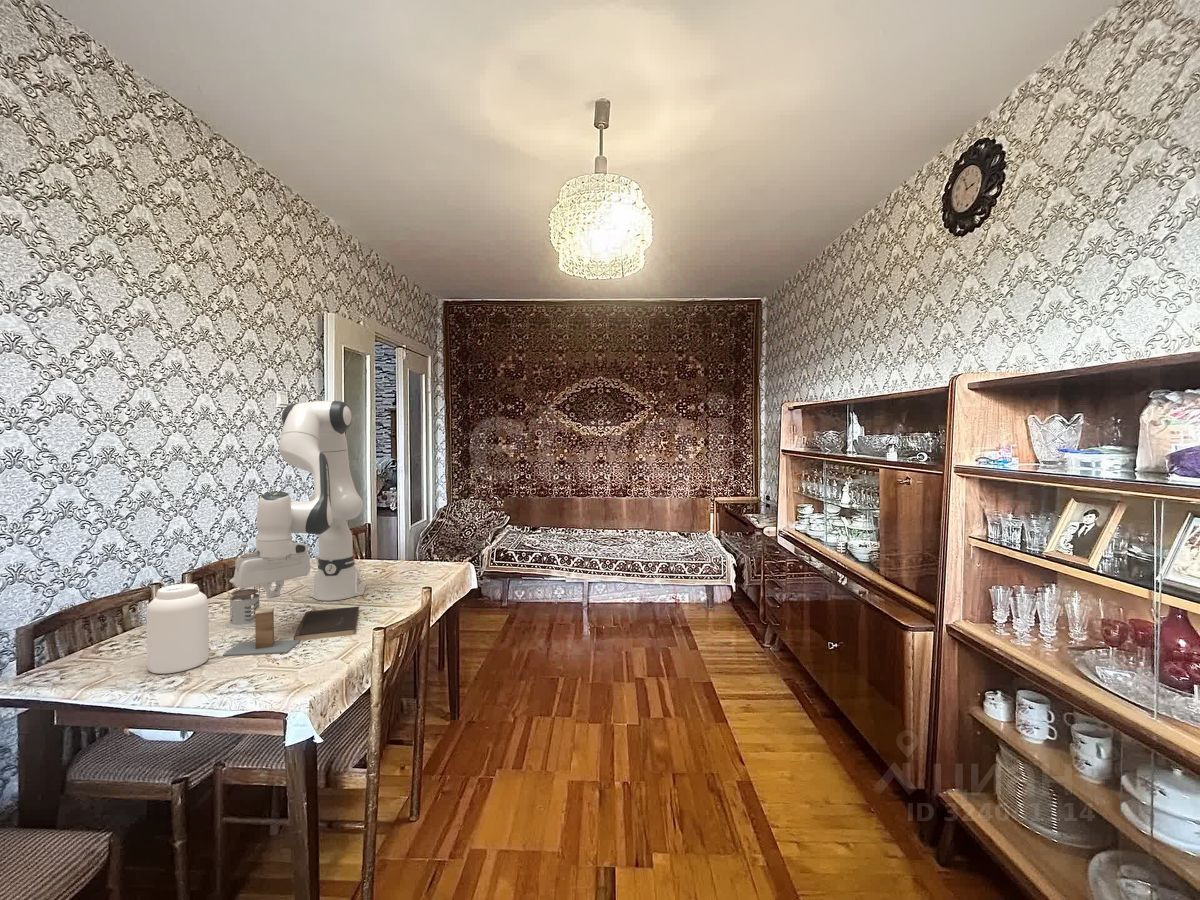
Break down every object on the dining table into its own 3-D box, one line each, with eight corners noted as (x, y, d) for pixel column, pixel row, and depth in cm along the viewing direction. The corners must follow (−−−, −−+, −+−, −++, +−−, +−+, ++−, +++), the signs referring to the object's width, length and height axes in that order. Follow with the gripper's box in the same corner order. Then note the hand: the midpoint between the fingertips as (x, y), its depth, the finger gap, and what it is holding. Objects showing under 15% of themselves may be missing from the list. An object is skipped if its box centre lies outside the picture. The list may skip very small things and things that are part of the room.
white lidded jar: (137, 677, 135) (135, 595, 134) (161, 658, 147) (160, 582, 146) (197, 671, 138) (196, 591, 138) (216, 653, 150) (215, 578, 150)
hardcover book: (358, 613, 186) (358, 606, 186) (355, 636, 164) (355, 628, 164) (304, 618, 180) (304, 611, 180) (293, 643, 159) (293, 635, 159)
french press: (218, 628, 169) (217, 546, 169) (242, 616, 181) (241, 539, 180) (252, 628, 170) (251, 545, 169) (273, 616, 181) (272, 538, 181)
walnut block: (257, 644, 155) (256, 608, 155) (273, 641, 157) (273, 606, 157) (255, 649, 152) (255, 612, 152) (272, 646, 154) (272, 610, 153)
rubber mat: (239, 643, 157) (239, 642, 157) (300, 641, 159) (300, 639, 159) (222, 656, 148) (222, 654, 148) (287, 653, 150) (287, 651, 150)
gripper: (242, 556, 150) (241, 607, 150) (313, 545, 168) (312, 591, 168) (229, 553, 153) (228, 604, 153) (300, 543, 171) (300, 588, 171)
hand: (273, 597), depth 161 cm, fingers closed
